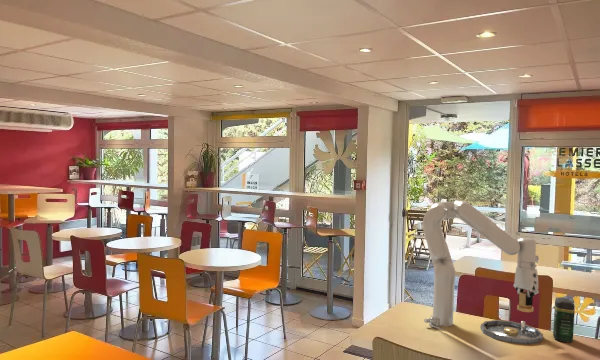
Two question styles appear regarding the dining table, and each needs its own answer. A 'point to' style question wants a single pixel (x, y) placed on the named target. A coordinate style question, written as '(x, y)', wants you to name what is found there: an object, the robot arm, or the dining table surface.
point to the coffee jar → (564, 320)
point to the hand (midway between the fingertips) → (525, 303)
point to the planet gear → (524, 303)
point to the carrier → (512, 332)
